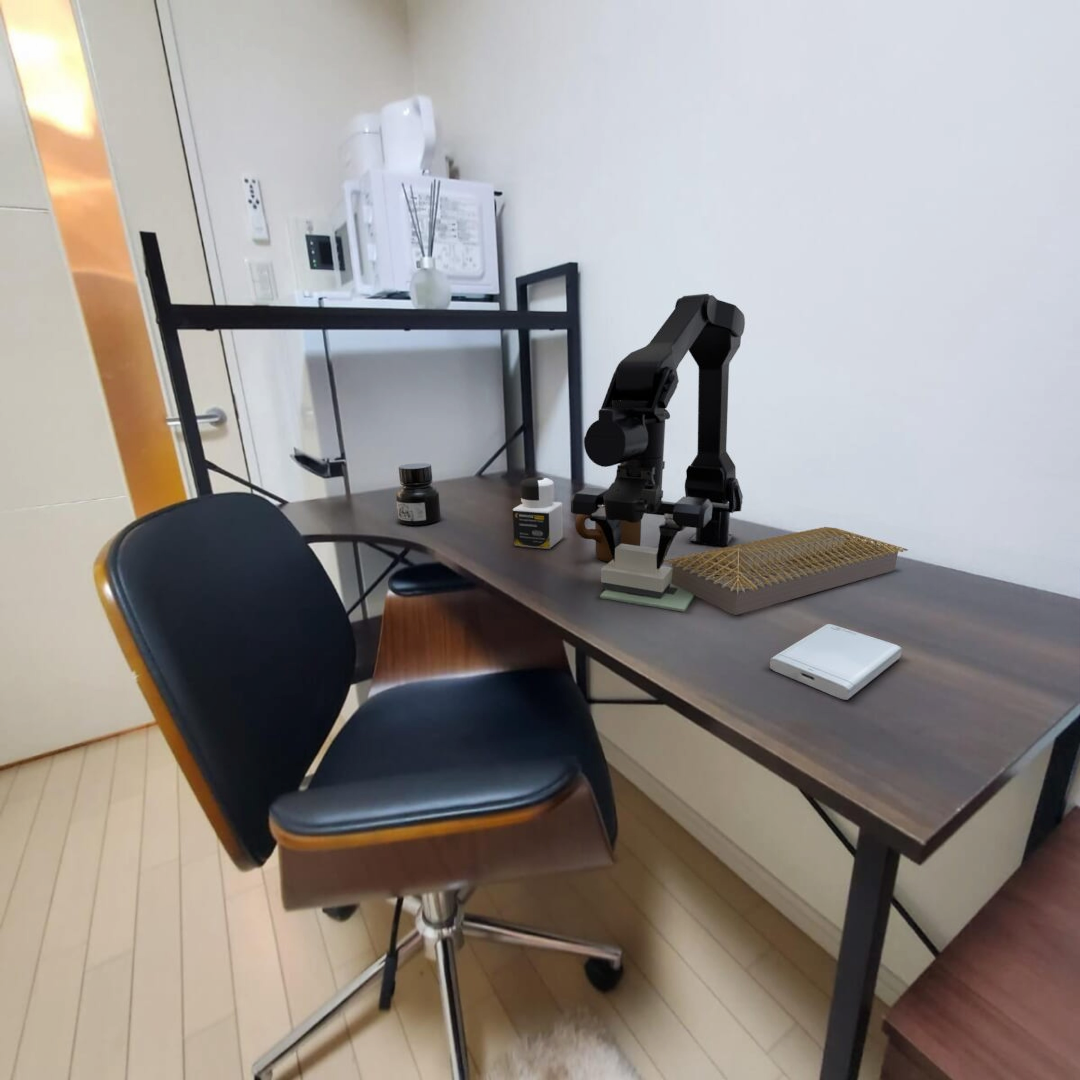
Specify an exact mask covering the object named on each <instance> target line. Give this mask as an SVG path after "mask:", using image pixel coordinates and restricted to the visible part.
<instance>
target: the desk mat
mask: <svg viewBox="0 0 1080 1080" xmlns="http://www.w3.org/2000/svg"><path fill="white" fill-rule="evenodd" d="M695 597H696V595H694V594H692V593H690V592H688V591H686V590H684V589H682V588H680V587H677V586H675V585H673V584H671V582H670V587H669V589H668V590H667V591H666V592H665V594H664V595H663V596H662V597H661V598H656V597H651V596H645V595H639V594H634V593H628V592H622V591H616V590H611V589H605V590H604V591H603V592H602V593H601V594H600V595H599V598H600V599H604V600H611V601H616V602H623V603H628V604H635V605H640V606H648V607H653V608H658V609H659V608H660V609H664V610H665V609H666V610H671V611H677V612H682V613H685V612H686V611H687V609H688V607H689V606H690V604H691V602H692V601H693V599H694V598H695Z"/></svg>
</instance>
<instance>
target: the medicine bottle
mask: <svg viewBox="0 0 1080 1080" xmlns="http://www.w3.org/2000/svg"><path fill="white" fill-rule="evenodd" d="M519 485H520V502H521V503H520V504H519V505H517V506H515V507H514V508H513V509H512V525H513V527H512V528H513V529H512V530H513V545H514V546H515V547H523V548H533V549H534V548H535V549H543V550H550V549H551V548H552V547H554V546H555V545H556V544H558V543H559V542H560V541H561V540H563V537H564V531H563V530H564V528H563V524H564V523H563V522H564V521H563V503H562V502H561V501H555V483H554V481H553V480H552V479H550V478H547V477H541V476H540V477H538V476H537V477H528V478H525V479H524V480H521V483H520V484H519Z"/></svg>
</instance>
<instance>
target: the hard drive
mask: <svg viewBox="0 0 1080 1080" xmlns="http://www.w3.org/2000/svg"><path fill="white" fill-rule="evenodd" d="M901 657H902V647H901V646H899V645H897V644H895V643H892V642H888V641H886V640H882V639H879V638H876V637H873V636H870V635H867V634H864V633H861V632H857V631H854V630H851V629H847V628H845V627H842V626H838V625H835V624H833V623H827V624H825V625H823V626H822V627H820V628H818V629H817V630H815V631H813V632H812V633H810V634H808V635H807V636H805V637H804V638H802V639H800V640H798V641H797V642H795V643H794V644H792V645H790V646H789V647H787V648H786V649H784V650H782V651H781V652H778V653H777V654H776V655H774V656H773V657H771V658H770V660H769V661H770V662H769V668H770V670H772V671H773V672H775V673H778V674H781V675H782V676H785V677H788V678H789V679H793V680H795V681H797V682H800V683H801V684H805V685H807V686H809V687H811V688H813V689H816V690H819V691H821V692H823V693H826V694H828V695H830V696H832V697H836V698H837V699H839V700H844V701H848V700H849V699H850V698H852V697H853V696H854V695H855V694H857V693H858V692H859V691H860V690H862V689H863V688H864V687H865V686H867V685H868V684H870V682H872V681H873V680H874V679H875V678H877V677H878V676H879V675H880V674H882V673H883V672H884V671H885V670H887V669H888V668H889V667H890V666H892V665H893V664H894V663H895V662H896V661H898V660H900V658H901Z"/></svg>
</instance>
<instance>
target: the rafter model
mask: <svg viewBox="0 0 1080 1080" xmlns="http://www.w3.org/2000/svg"><path fill="white" fill-rule="evenodd" d="M904 551H905V552H908V551H909V549H908V548H905V547H902V546H898V545H894V544H892V543H888V542H885V541H881V540H878V539H875V538H872V537H868V536H864V535H861V534H858V533H854V532H851V531H849V530H844V529H840V528H837V527H830V526H829V527H828V526H823V527H819V528H812V529H808V530H804V531H800V532H799V531H798V532H794V533H789V534H784V535H777V536H774V537H773V536H772V537H771V538H765V539H760V540H755V541H751V542H747V543H741V544H735V545H732V546H730V545H729V546H726V547H721V548H716V549H712V550H708V551H701V552H697V553H694V554H688V555H683V556H682V555H681V556H677V557H674V558H668V559H664V562H663V563H668V565H671V567H672V568H673V571H672V581H671V584H673V585H675V586H677V587H680V588H682V589H684V590H686V591H688V592H690V593H692V594H694V595H695V597H697V598H700V599H702V600H704V601H706V602H708V603H710V604H712V605H714V606H716V607H718V608H720V609H722V610H724V611H726V612H728V613H731V614H732V615H735V616H737V615H741V614H744V613H747V612H751V611H755V610H758V609H762V608H766V607H768V606H772V605H776V604H779V603H783V602H787V601H790V600H793V599H797V598H801V597H804V596H808V595H812V594H815V593H819V592H822V591H823V592H824V591H826V590H830V589H833V588H837V587H841V586H844V585H849V584H851V583H855V582H857V581H862V580H865V579H869V578H873V577H876V576H879V575H880V576H881V575H883V574H886V573H891V572H894V571H896V566H897V560H898V556H899V555H898V554H899V553H900V552H901V553H904ZM786 562H787V563H786ZM788 563H789V564H788ZM780 564H782V565H783V566H782V565H780ZM772 565H774V566H775V567H774V566H772ZM765 567H767V568H765ZM800 567H801V568H800ZM802 568H803V569H802ZM759 569H760V570H759ZM794 569H795V570H794ZM751 570H752V571H753V572H752V571H751ZM796 570H797V571H796ZM787 571H789V572H787ZM743 572H745V573H743ZM781 573H782V574H781ZM773 574H774V575H775V576H774V575H773ZM715 575H716V576H715ZM717 575H718V576H717ZM729 575H730V576H729ZM765 576H767V577H765ZM758 578H760V579H758ZM723 579H724V580H723ZM749 579H752V580H753V581H752V580H749ZM733 582H735V583H733Z"/></svg>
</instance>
